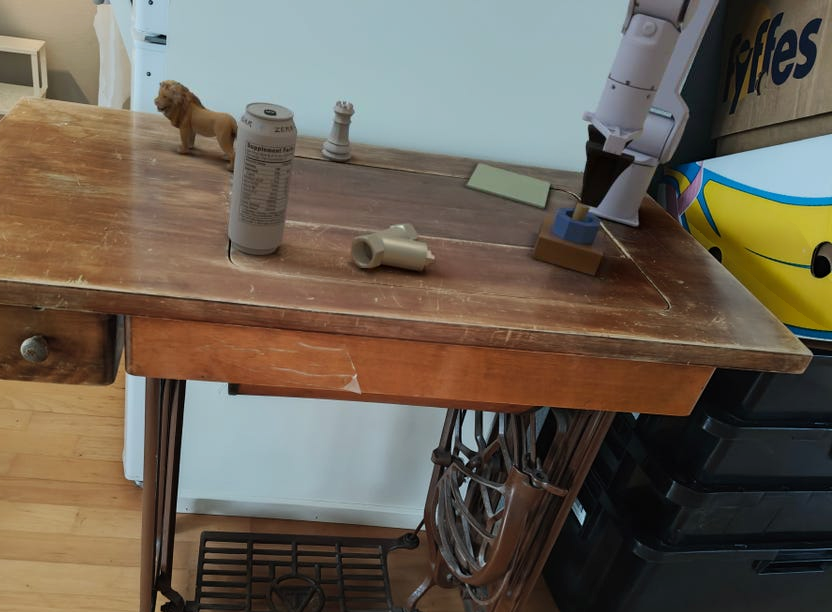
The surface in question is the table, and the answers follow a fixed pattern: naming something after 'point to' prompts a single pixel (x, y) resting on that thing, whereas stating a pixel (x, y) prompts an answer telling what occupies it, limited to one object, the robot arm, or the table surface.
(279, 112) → the energy drink can
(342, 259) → the table surface
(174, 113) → the lion figurine
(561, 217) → the ring
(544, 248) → the dowel stand
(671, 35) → the robot arm
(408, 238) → the pipe fitting
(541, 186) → the mat
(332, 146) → the rook chess piece
